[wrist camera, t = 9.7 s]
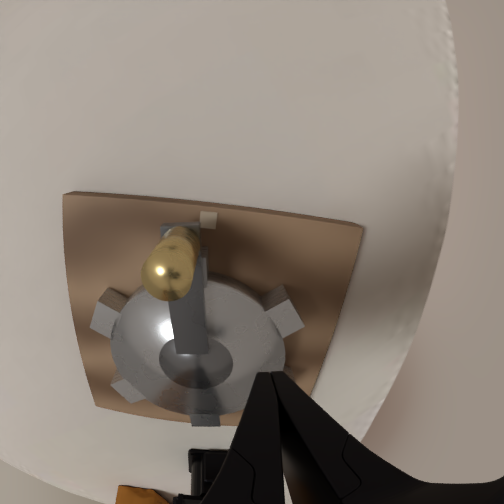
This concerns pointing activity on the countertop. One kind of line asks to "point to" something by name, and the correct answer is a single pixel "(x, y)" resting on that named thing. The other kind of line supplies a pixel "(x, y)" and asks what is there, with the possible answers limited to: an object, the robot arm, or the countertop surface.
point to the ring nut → (193, 331)
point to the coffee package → (138, 496)
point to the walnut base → (220, 261)
